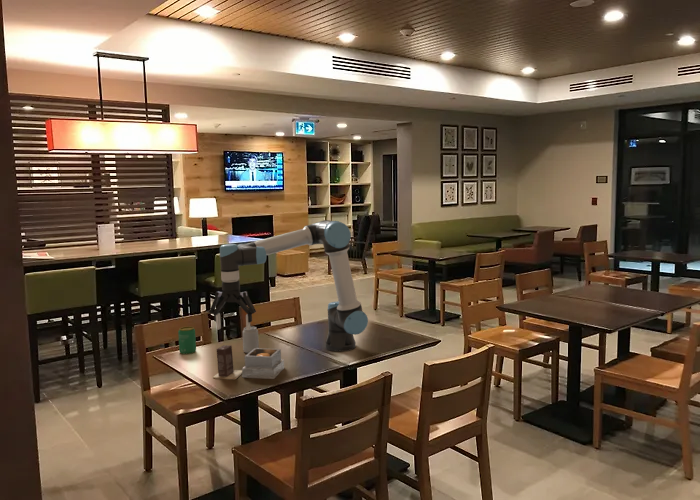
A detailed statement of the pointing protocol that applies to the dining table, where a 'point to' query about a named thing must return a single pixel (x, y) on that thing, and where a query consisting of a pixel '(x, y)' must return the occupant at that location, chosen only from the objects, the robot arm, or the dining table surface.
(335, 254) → the robot arm
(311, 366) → the dining table surface
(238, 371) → the coaster
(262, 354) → the plunger
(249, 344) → the can
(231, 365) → the box
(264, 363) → the box
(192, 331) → the beverage can
